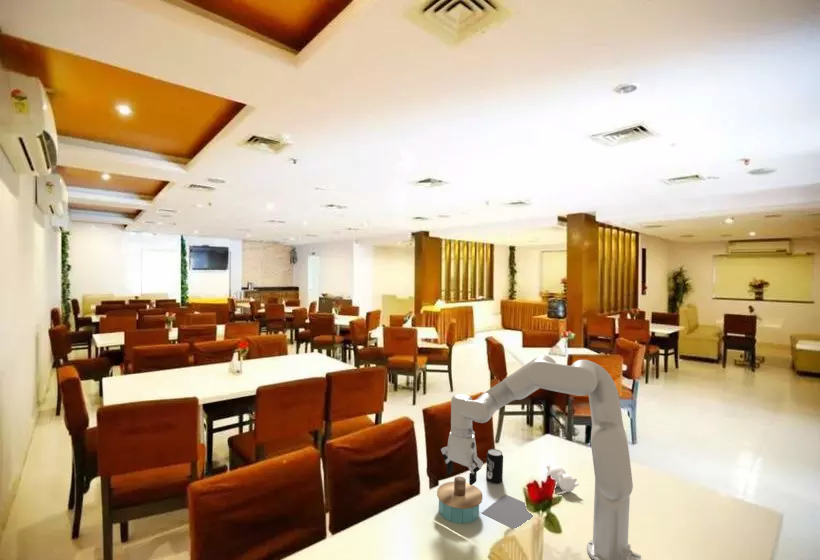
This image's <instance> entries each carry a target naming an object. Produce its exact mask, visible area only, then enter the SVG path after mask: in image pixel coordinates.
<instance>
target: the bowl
mask: <svg viewBox="0 0 820 560" xmlns="http://www.w3.org/2000/svg"><path fill="white" fill-rule="evenodd" d="M438 512H439V514H440V515H441V517H442V518H443V519H445V520H447V521H449V522H450V523H454V524H455V523H457V524H462V525H463V524H468V523H473V522H474V521H475V520H477V519H478V518H479V516H480V515H479V514H480V504H479V505H478V506H476V507H473V508H468V509H459V508H453V507H450V506H448V505H446V504H444V503H442V502H441V501H440V500H439V499H438Z"/></svg>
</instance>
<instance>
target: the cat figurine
mask: <svg viewBox="0 0 820 560" xmlns="http://www.w3.org/2000/svg"><path fill="white" fill-rule="evenodd" d="M546 469H547V472H546V477H547V476H548V475H551V476H552V478H554V479H556V482H557V484H556V487H555V488H558V487H559V488H560V489H561V490H562V491H560V492H557V493H556V495H559V496H560V495H564V494H566V493H570V492H573V491H574V489H575V488H577V487H578V486H579V485H580V483H579V482H578V483H577V481H578V479H577V478H574V476H572V475H571V474H569V473H566V472H567V471H566V470H565V469H564V468H563V467H562V466H560V465H551V464H547V465H546Z"/></svg>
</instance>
